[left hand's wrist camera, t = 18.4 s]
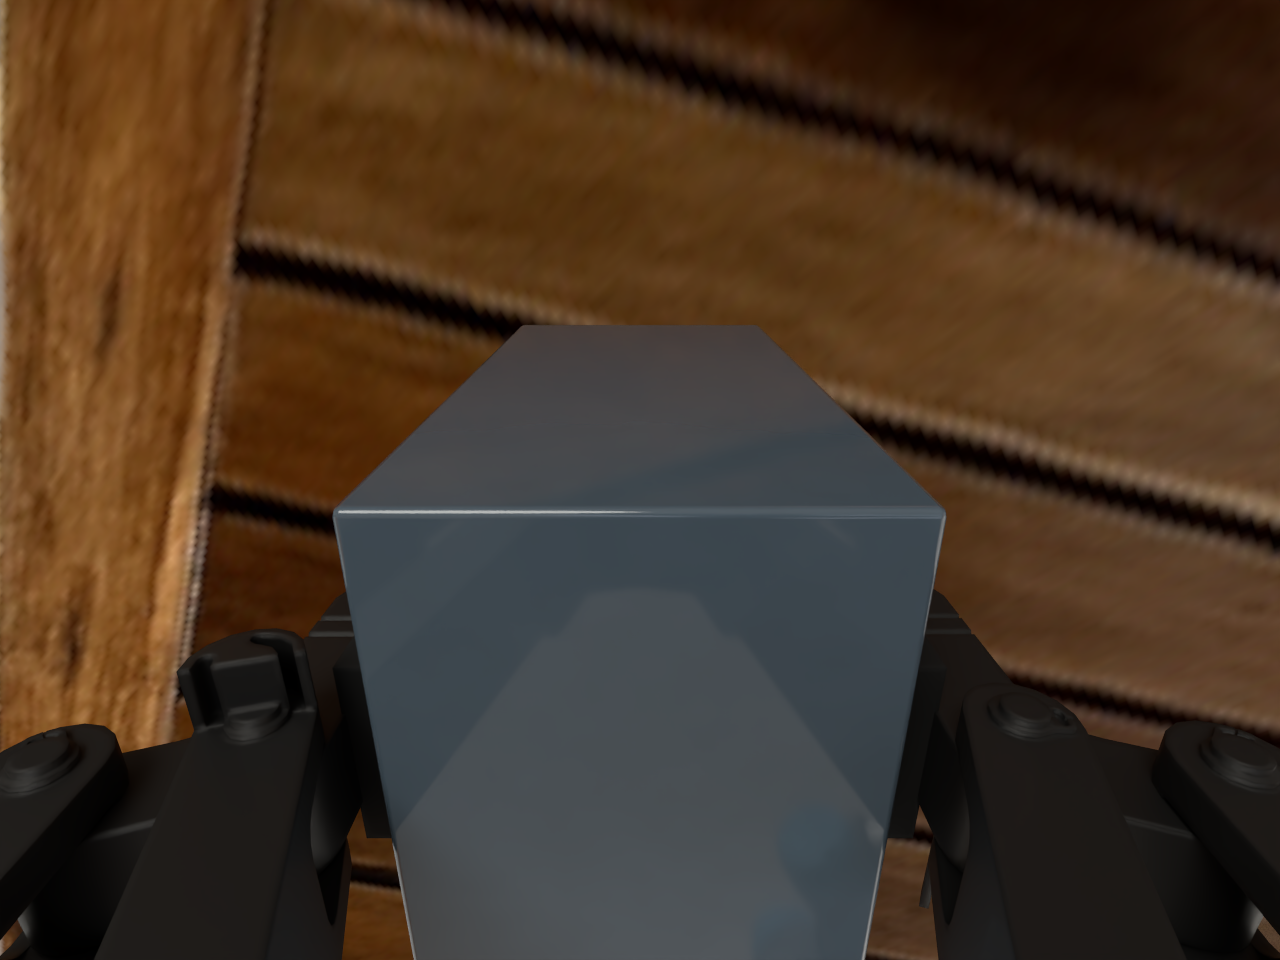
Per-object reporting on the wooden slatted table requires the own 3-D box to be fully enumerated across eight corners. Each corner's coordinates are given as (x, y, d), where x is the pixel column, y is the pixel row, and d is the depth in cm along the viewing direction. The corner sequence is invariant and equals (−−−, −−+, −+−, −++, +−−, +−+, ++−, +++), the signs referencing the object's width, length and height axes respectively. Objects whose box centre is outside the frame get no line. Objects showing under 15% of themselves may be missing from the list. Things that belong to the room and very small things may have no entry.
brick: (759, 324, 16) (952, 509, 6) (741, 605, 19) (852, 1042, 9) (521, 324, 16) (326, 508, 6) (538, 605, 19) (426, 1041, 9)
